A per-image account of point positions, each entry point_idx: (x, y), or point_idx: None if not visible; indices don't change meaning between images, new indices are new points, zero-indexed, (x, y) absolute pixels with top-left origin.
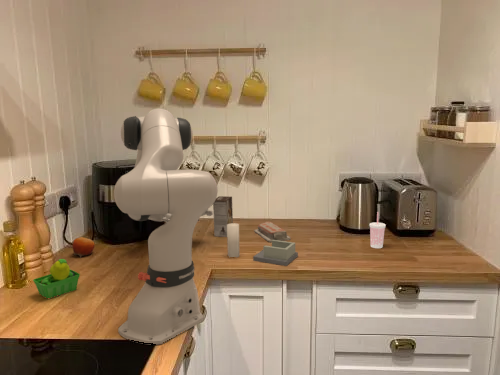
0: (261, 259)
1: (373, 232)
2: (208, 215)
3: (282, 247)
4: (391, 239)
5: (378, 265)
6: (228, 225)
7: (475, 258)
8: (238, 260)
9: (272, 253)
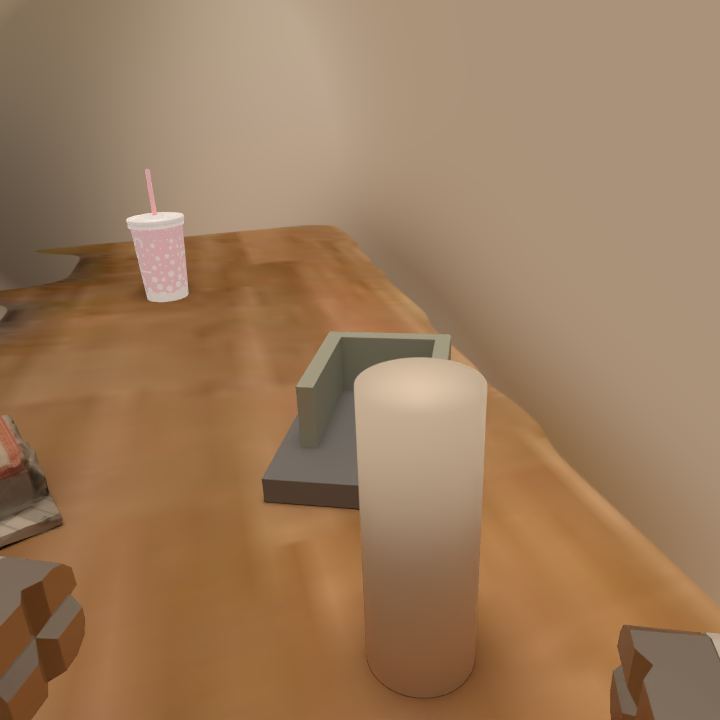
0: None
1: (175, 243)
2: (44, 690)
3: (330, 388)
4: (93, 285)
5: (350, 286)
6: (464, 398)
7: (255, 232)
8: (507, 587)
9: None
